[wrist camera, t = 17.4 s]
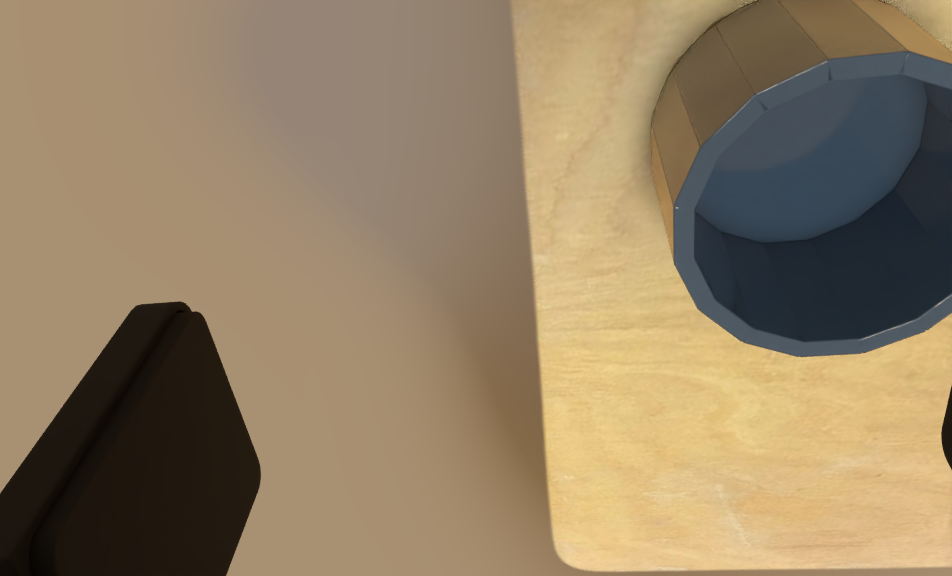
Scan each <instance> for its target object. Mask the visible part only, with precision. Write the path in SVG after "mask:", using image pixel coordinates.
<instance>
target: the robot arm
mask: <svg viewBox="0 0 952 576" xmlns="http://www.w3.org/2000/svg"><path fill="white" fill-rule="evenodd" d="M941 435H942V446H943V451H944V454H945V457H946V459H947V462H948V463H949V465H950V467H951V469H952V387H951V391H950V395H949V400H948V404H947V409H946V413H945V417H944V422H943V426H942V433H941ZM260 479H261V471H260V464H259V460H258V457H257V455H256V452H255V449H254V447H253V444H252V442H251V439H250V436H249V433H248V431H247V428H246V426H245V423H244V420H243V418H242V415H241V413H240V410H239V407H238V404H237V402H236V399H235V397H234V394H233V391H232V389H231V386H230V384H229V381H228V378H227V376H226V373H225V370H224V368H223V365H222V362H221V360H220V357H219V354H218V352H217V349H216V347H215V344H214V341H213V339H212V336H211V333H210V331H209V328H208V325H207V323H206V321H205V319H204V317H203V315H202V314H201V313H199V312H192V311H191V309H190V308H189V307H188V306H187V305H186V304H185V303H183V302H168V303H154V304H141V305H137V306H136V307H135V308H134V309H132V310H131V312H130V313H129V314H128V316H127V317H126V319H125V320H124V322H123V323H122V324H121V326H120V327H119V328H118V330H117V331H116V333H115V334H114V335H113V337H112V338H111V340H110V341H109V343H108V344H107V345H106V347H105V348H104V349H103V351H102V352H101V354H100V355H99V356H98V358H97V359H96V361H95V362H94V363H93V365H92V366H91V367H90V369H89V370H88V372H87V373H86V374H85V376H84V377H83V379H82V380H81V381H80V383H79V384H78V386H77V387H76V389H75V390H74V391H73V393H72V394H71V395H70V397H69V398H68V400H67V401H66V402H65V404H64V405H63V407H62V408H61V409H60V411H59V412H58V414H57V415H56V416H55V418H54V419H53V421H52V422H51V423H50V425H49V426H48V428H47V429H46V431H45V432H44V433H43V435H42V436H41V437H40V439H39V440H38V441H37V443H36V444H35V446H34V447H33V448H32V450H31V451H30V453H29V454H28V456H27V457H26V458H25V460H24V461H23V463H22V464H21V465H20V467H19V468H18V470H17V471H16V472H15V474H14V475H13V476H12V478H11V479H10V481H9V482H8V483H7V485H6V486H5V488H4V489H3V490H2V492H1V493H0V576H226V574H227V572H228V569H229V566H230V564H231V561H232V558H233V555H234V553H235V550H236V548H237V545H238V543H239V540H240V537H241V535H242V532H243V529H244V527H245V524H246V521H247V519H248V516H249V513H250V510H251V508H252V505H253V503H254V500H255V498H256V495H257V493H258V490H259V486H260Z"/></svg>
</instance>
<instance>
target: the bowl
mask: <svg viewBox="0 0 952 576" xmlns="http://www.w3.org/2000/svg"><path fill="white" fill-rule="evenodd" d="M651 155H652V174H653V178H654V182H655V186H656V191H657V195H658V199H659V203H660V207H661V211H662V216H663V220H664V224H665V228H666V232H667V236H668V241H669V245H670V249H671V253H672V257H673V262H674V265H675V267H676V269H677V271H678V273H679V275H680V276H681V278H682V280H683V282H684V284H685V286H686V288H687V290H688V292H689V294H690V296H691V297H692V299H693V301H694V303H695V305H696V307H697V309H698V310H699V311H701V312H702V313H703V314H705V315H706V316H707V317H709V318H710V319H711V320H713V321H714V322H715V323H717V324H718V325H719V326H721V327H722V328H724V329H725V330H726V331H728V332H729V333H730V334H732V335H733V336H734V337H736V338H737V339H738V340H740V341H743V342H744V343H747V344H750V345H754V346H758V347H762V348H766V349H769V350H773V351H777V352H781V353H785V354H788V355H792V356H796V357H813V356H830V355H847V354H861V353H866V352H869V351H872V350H875V349H877V348H880V347H883V346H886V345H889V344H891V343H894V342H897V341H900V340H903V339H906V338H908V337H911V336H914V335H917V334H920V333H923V332H925V330H928V329H930V328H931V327H933V326H934V325H936V324H937V323H938V322H940V321H941V320H943V319H944V318H945V317H947V316H948V315H950V314H951V313H952V51H951V50H949V49H948V48H947V47H946V46H944V45H943V44H942V43H941V42H939V41H938V40H937V39H936V38H934V37H933V36H932V35H930V34H929V33H928V32H927V31H925V30H924V29H923V28H922V27H920V26H919V25H918V24H917V23H915V22H914V21H913V20H911V19H910V18H909V17H908V16H906V15H905V14H904V13H903V12H901V11H900V10H899V9H898V8H896V7H894V6H892V5H889V4H886V3H883V2H881V1H879V0H759V1H757V2H754V3H752V4H750V5H747V6H745V7H743V8H741V9H739V10H738V11H736V12H734V13H732V14H731V15H729V16H727V17H726V18H724V19H723V20H721V21H720V22H719V23H717V24H716V25H715V26H713V27H712V28H711V29H709V30H708V31H707V32H706V33H705V34H703V35H702V36H701V37H700V38H699V39H698V40H697V41H696V42H695V43H694V44H693V45H692V46H691V47H690V48H689V50H688V51H687V52H686V53H685V54H684V56H683V57H682V58H681V59H680V60H679V62H678V63H677V65H676V66H675V68H674V70H673V71H672V73H671V74H670V76H669V77H668V79H667V81H666V83H665V85H664V88H663V90H662V92H661V94H660V97H659V100H658V103H657V106H656V109H655V112H654V117H653V120H652V125H651Z"/></svg>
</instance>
